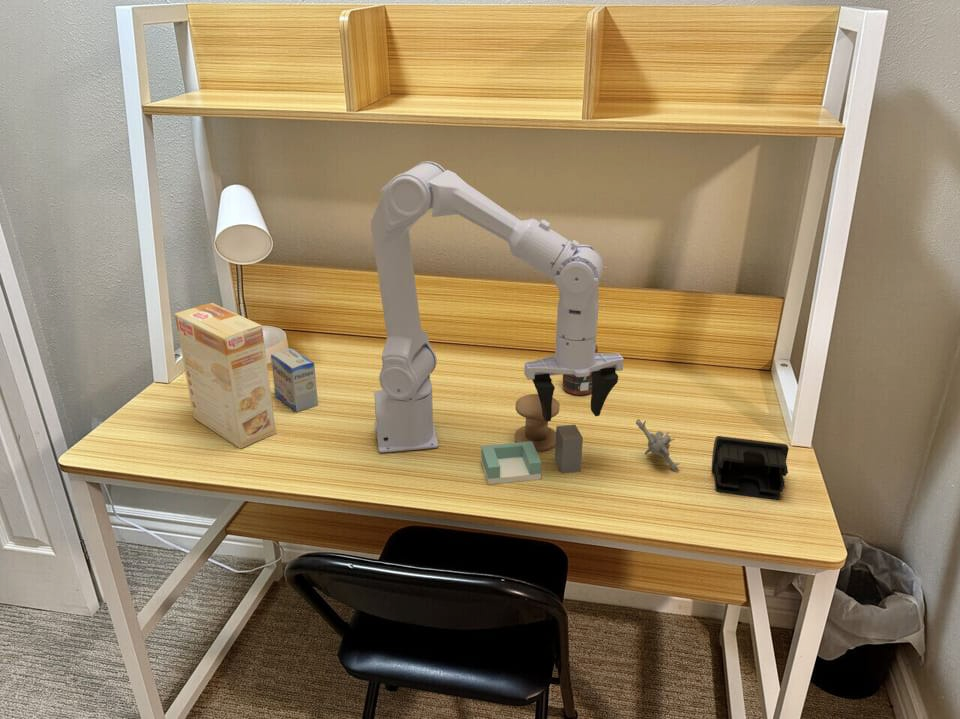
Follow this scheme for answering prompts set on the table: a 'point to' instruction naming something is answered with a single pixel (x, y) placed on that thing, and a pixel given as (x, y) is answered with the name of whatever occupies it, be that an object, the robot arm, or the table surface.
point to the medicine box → (294, 379)
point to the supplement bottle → (578, 383)
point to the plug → (568, 448)
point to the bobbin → (535, 423)
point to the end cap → (749, 467)
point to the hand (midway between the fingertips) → (571, 415)
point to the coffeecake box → (226, 373)
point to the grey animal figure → (658, 444)
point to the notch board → (510, 462)
